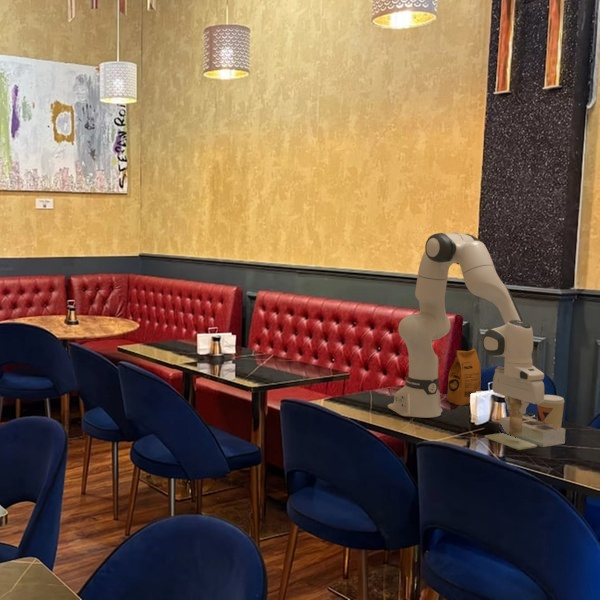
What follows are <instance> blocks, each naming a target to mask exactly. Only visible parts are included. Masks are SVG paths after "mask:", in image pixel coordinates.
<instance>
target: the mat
mask: <svg viewBox="0 0 600 600" xmlns="http://www.w3.org/2000/svg"><path fill="white" fill-rule="evenodd" d="M484 438H485V439H488V440H491V441H494V442H496V443H499V444H502V445H504V446H506V447H507V446H508V447H509V448H512V449H514V450H518V451H522V450H527V449H528V450H529V449H533V448H537V447H538V445H535V444H532V443H529V442H527V441H524V440H521V439H518V438H515V437H513V436H510V435H507V434H504V433H501V432H499V433H493V434H492V433H491V434H485V435H484Z"/></svg>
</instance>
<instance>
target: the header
mask: <svg viewBox="0 0 600 600" xmlns="http://www.w3.org/2000/svg"><path fill="white" fill-rule="evenodd" d="M500 424H501V425H502V427H503V429H504V431H505V432H506V433H507V434H509V424H510V416H505V417H500V418H499V425H500ZM509 435H510V434H509ZM511 436H513V435H511ZM513 437H516V438H518V439H521V440H524V441H527V442H529V443H532V444H535V445H537V447H540V448H547V447H553V446H559V445H564V444H565V442H566V428H564V427H562V426H561V427H558V426H555V425H551V424H548V423H545V422H542V421H539V420H537V418H536V419H535V418H532V417H529V416H527V415H526V416H525V415H524V414H523V415H522V435H521V436H513Z"/></svg>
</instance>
